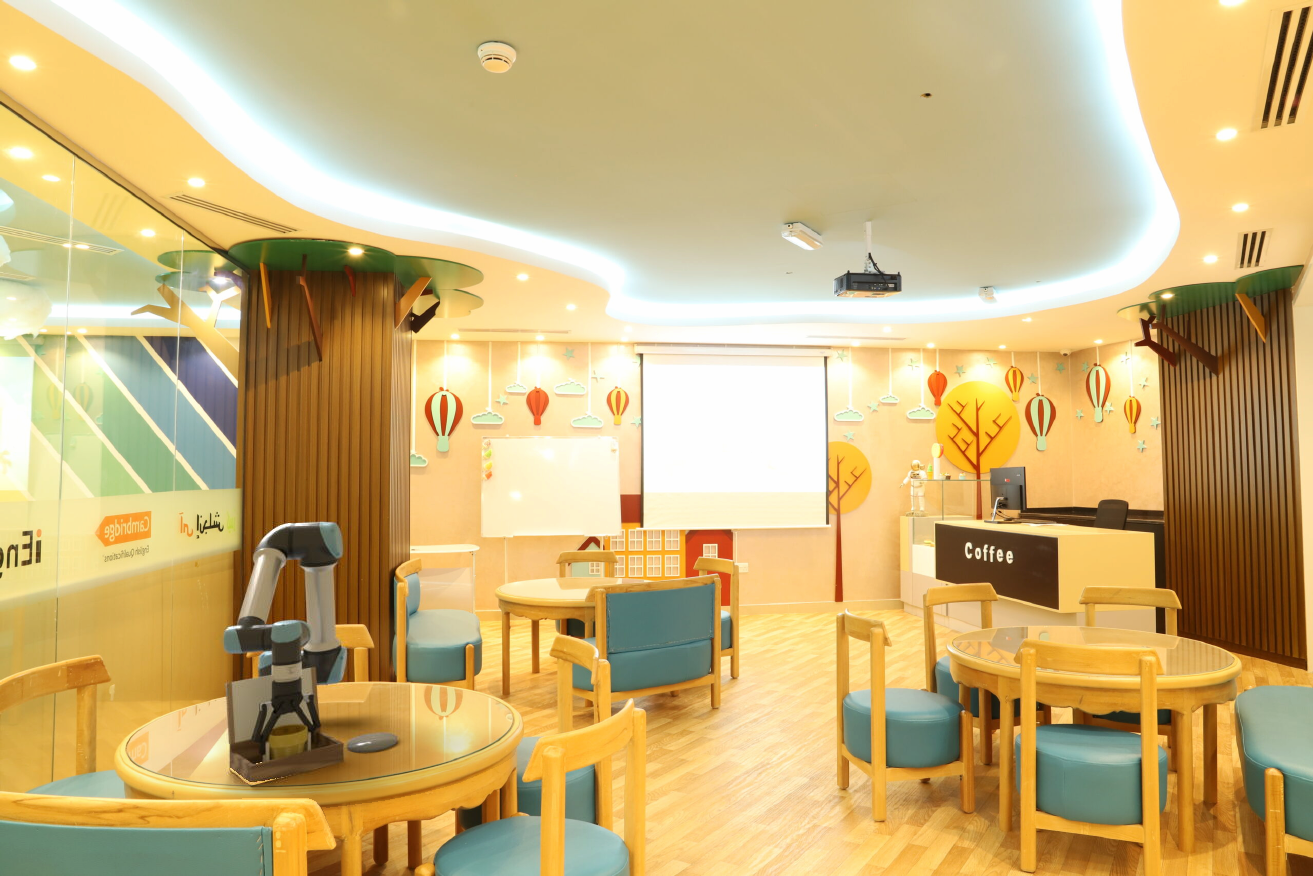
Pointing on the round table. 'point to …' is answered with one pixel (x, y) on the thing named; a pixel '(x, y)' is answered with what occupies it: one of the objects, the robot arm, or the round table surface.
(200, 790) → the round table surface
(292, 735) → the plant pot
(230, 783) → the round table surface
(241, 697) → the lid
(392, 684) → the round table surface
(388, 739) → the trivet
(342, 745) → the cold frame
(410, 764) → the round table surface
